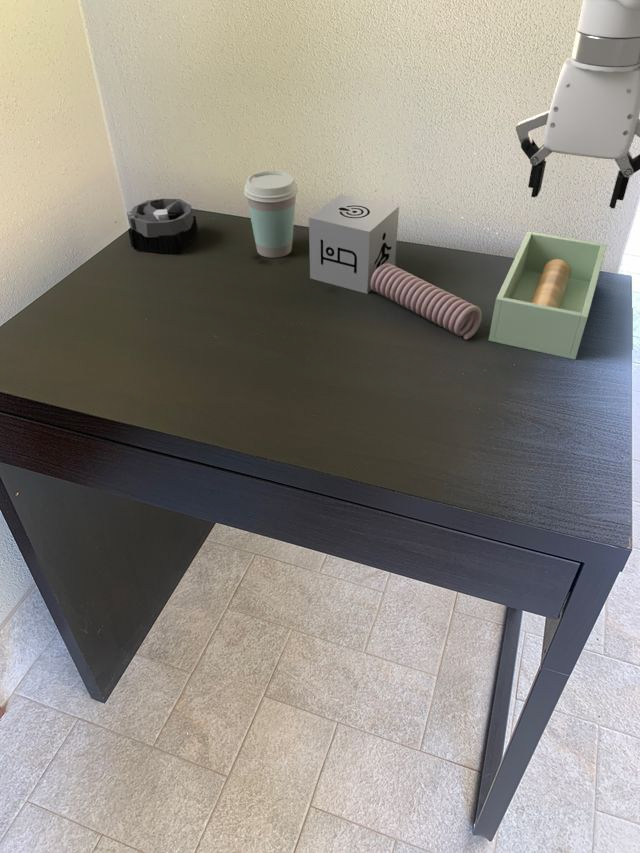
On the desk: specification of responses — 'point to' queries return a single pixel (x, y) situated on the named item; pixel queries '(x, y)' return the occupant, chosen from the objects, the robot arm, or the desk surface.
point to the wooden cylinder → (552, 284)
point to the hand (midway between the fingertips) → (573, 198)
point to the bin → (541, 323)
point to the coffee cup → (272, 211)
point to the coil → (426, 300)
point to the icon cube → (352, 241)
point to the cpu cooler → (162, 225)
